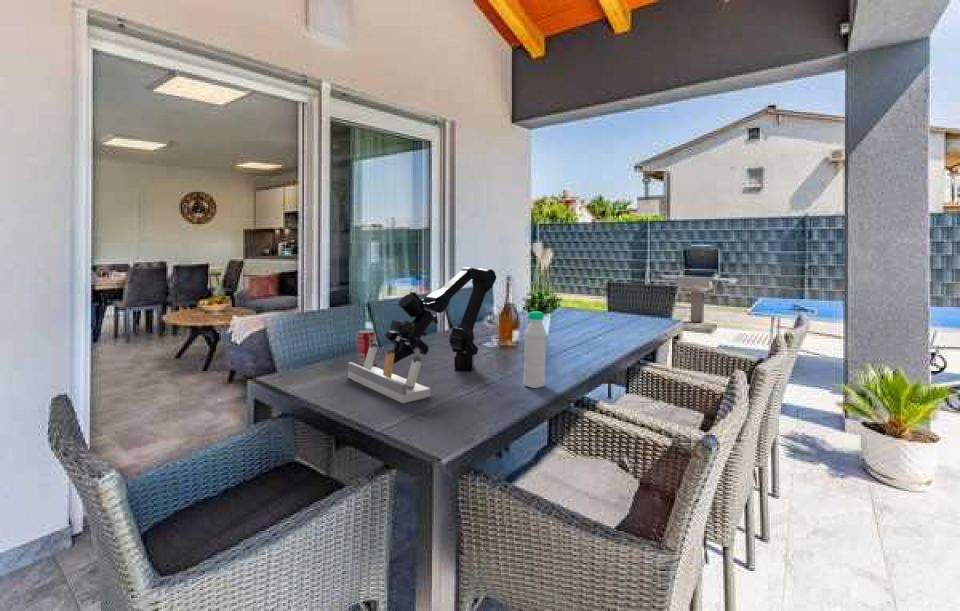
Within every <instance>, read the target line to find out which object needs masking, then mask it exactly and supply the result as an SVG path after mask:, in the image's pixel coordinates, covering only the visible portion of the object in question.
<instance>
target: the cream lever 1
mask: <svg viewBox="0 0 960 611" xmlns="http://www.w3.org/2000/svg"><path fill="white" fill-rule="evenodd" d="M377 351H378V344H377V342H376V343H375V342H373V343H371V345H370V346H369V350H368V353H367V356H366V360H365V363H364V366H362V367H365V368H367V369H370V370H371V368H372V367H373V366H374V365H373V361H374V358H375V355H376V356H377Z"/></svg>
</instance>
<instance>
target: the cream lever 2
mask: <svg viewBox="0 0 960 611" xmlns="http://www.w3.org/2000/svg"><path fill="white" fill-rule="evenodd" d="M421 365H422V359H421V357H420V356H414V357H413V359H412V360H411V364H410V366H409V371H408V374H407V377H406V379H407V380H406V383H405V384H406V387H407V388H409V389H412V390H413V389H414V386H415V383H417V379H418V375H419V373H420V368H421Z"/></svg>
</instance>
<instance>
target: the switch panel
mask: <svg viewBox="0 0 960 611" xmlns="http://www.w3.org/2000/svg"><path fill="white" fill-rule="evenodd" d="M383 371H384V369H382V368H379V367H377V366H375V365H372V368H371V370H370V369H367V368H365V367H363V366H360V365H359V364H358V363H355V362H352V361H349V362H347V372H348V373H347V374H348V375H347V377H348V379H349V378H350V379H349V380H351V379H352V381H354V382H356V383H358V384H360V385H363V386H364V387H367V388H368V389H371V390H374V391H375V392H377V393H380V394H382V395H385V396H386V397H388V398H391V399H393V400H395V401H397V402H399V403H401V404H406V403H409V402H413V401H418V400H421V399H427V398H429V397H431V388H430V387H429V386H425V385H422V384H420V383H417V382H416V383H415V386H414V389H413V390H412V389H409V388H407V387H406V384H405V383H406V380H407V378H405V377H402V376H400V375H397V374H395V373H392V376H391V378H389V377H387V376H384V375H383Z"/></svg>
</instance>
